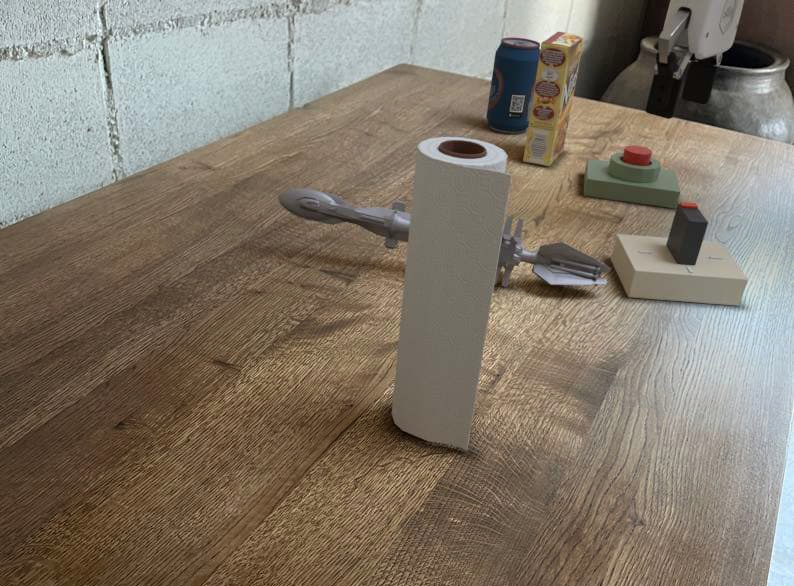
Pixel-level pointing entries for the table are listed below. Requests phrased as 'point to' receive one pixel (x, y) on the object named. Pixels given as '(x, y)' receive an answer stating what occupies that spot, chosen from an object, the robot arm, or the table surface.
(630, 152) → the red push button
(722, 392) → the table surface
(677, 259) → the hob knob
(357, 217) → the spaceship
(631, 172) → the switch box
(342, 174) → the table surface
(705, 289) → the panel
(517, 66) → the soda can
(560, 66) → the candy box
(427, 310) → the paper towel roll
